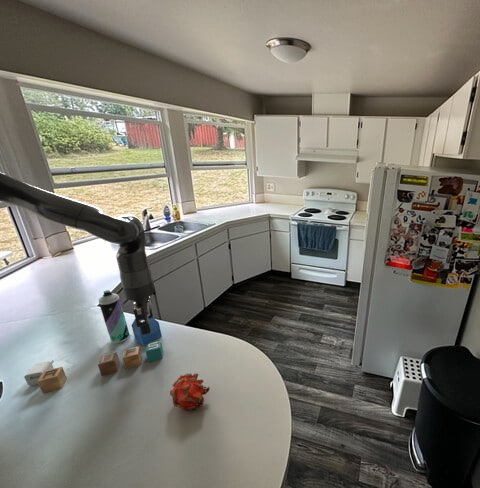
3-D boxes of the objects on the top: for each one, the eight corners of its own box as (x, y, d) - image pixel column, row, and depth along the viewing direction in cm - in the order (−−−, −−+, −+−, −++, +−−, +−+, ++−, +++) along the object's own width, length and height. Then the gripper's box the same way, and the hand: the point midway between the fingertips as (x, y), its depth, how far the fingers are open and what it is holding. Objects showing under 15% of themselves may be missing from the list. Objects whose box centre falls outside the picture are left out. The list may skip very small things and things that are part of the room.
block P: (125, 369, 80) (122, 357, 78) (127, 360, 83) (124, 349, 82) (140, 364, 82) (137, 353, 80) (142, 356, 85) (139, 345, 84)
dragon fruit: (182, 391, 75) (205, 418, 69) (155, 397, 68) (177, 428, 62) (197, 364, 76) (220, 389, 70) (172, 367, 69) (196, 395, 63)
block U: (101, 376, 77) (97, 364, 76) (104, 367, 80) (100, 355, 79) (117, 371, 79) (114, 360, 78) (120, 362, 82) (116, 351, 81)
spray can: (107, 341, 91) (91, 294, 84) (122, 332, 96) (108, 286, 89) (119, 344, 90) (104, 296, 83) (133, 334, 95) (120, 288, 88)
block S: (148, 362, 83) (145, 351, 81) (149, 354, 86) (146, 343, 85) (162, 358, 85) (159, 347, 83) (163, 350, 88) (160, 339, 86)
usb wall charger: (28, 385, 73) (23, 375, 72) (42, 368, 79) (38, 358, 78) (46, 381, 75) (41, 371, 73) (59, 364, 81) (55, 355, 79)
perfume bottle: (161, 335, 95) (155, 309, 91) (143, 345, 90) (136, 317, 86) (153, 329, 98) (146, 303, 94) (135, 339, 93) (127, 311, 89)
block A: (42, 393, 71) (37, 381, 70) (48, 382, 74) (43, 371, 73) (61, 387, 73) (56, 376, 71) (66, 377, 76) (62, 366, 75)
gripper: (126, 273, 80) (136, 316, 85) (117, 295, 68) (130, 343, 73) (154, 269, 83) (162, 311, 89) (150, 289, 72) (160, 335, 77)
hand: (147, 325), depth 81 cm, fingers open, 8 cm apart
